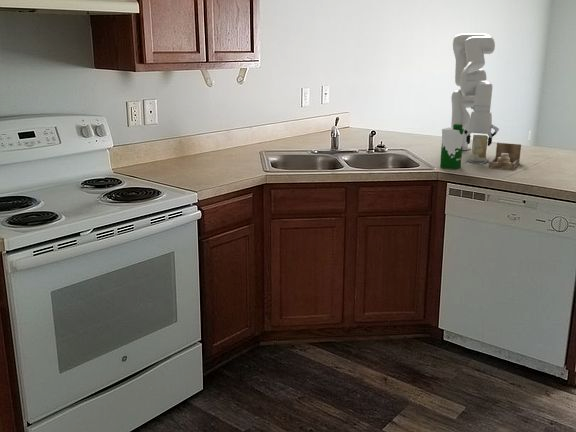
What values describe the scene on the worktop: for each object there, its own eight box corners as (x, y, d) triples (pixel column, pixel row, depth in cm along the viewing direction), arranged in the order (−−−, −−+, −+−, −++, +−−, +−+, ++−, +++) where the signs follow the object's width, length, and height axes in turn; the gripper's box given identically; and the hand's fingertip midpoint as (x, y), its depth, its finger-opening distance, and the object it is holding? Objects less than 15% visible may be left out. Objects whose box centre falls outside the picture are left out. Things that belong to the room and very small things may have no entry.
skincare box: (472, 161, 296) (474, 136, 293) (470, 159, 300) (472, 134, 297) (486, 161, 296) (488, 136, 293) (483, 159, 300) (486, 134, 297)
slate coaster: (466, 162, 297) (466, 161, 296) (470, 159, 304) (470, 158, 304) (485, 164, 293) (485, 162, 292) (488, 160, 300) (488, 159, 300)
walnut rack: (488, 167, 285) (490, 148, 282) (495, 160, 300) (497, 142, 298) (513, 169, 280) (515, 150, 277) (519, 162, 295) (521, 144, 293)
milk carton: (455, 170, 279) (458, 126, 274) (437, 167, 285) (440, 124, 279) (463, 167, 286) (467, 124, 280) (445, 164, 291) (448, 122, 286)
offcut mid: (497, 162, 285) (497, 158, 284) (498, 161, 288) (499, 156, 288) (508, 163, 283) (509, 158, 282) (509, 162, 286) (510, 157, 285)
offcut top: (501, 158, 283) (502, 154, 283) (500, 157, 286) (501, 153, 286) (508, 158, 283) (508, 154, 282) (507, 157, 286) (507, 153, 285)
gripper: (461, 108, 292) (458, 144, 297) (499, 111, 285) (495, 147, 290) (465, 107, 299) (462, 141, 304) (502, 109, 291) (498, 144, 296)
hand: (478, 144), depth 297 cm, fingers open, 9 cm apart
